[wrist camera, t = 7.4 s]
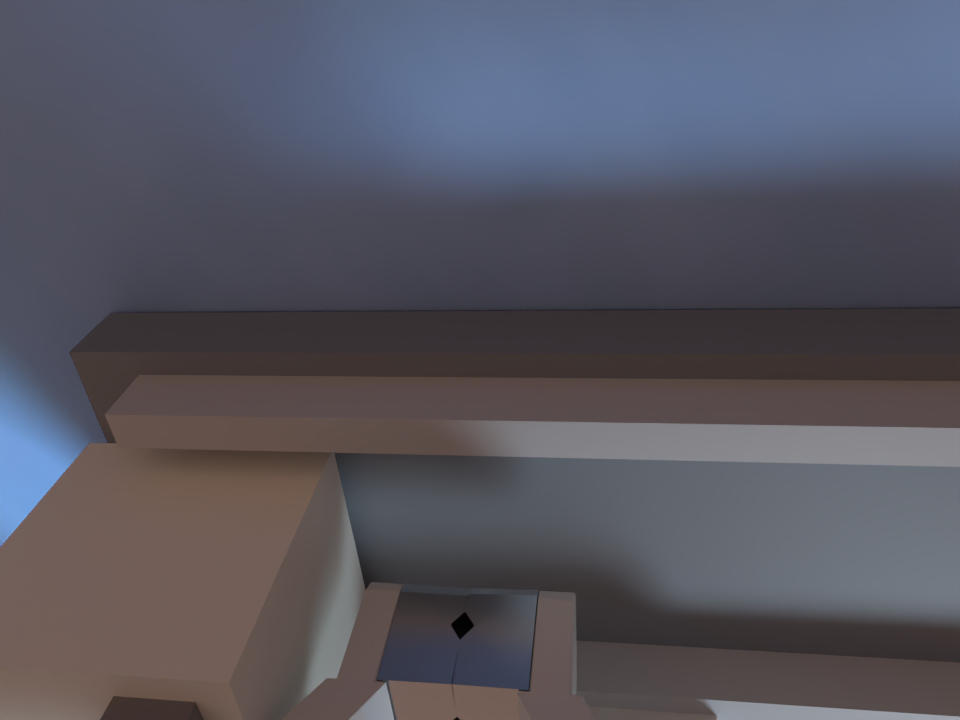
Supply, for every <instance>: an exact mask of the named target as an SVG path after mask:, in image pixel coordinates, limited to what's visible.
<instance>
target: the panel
mask: <svg viewBox="0 0 960 720" xmlns="http://www.w3.org/2000/svg"><path fill="white" fill-rule="evenodd" d="M70 355H71V357H72V359H73V362H74V364H75V367H76V369H77V371H78V374H79V376H80V378H81V381H82V383H83V386H84V388H85V390H86V393H87V395H88V397H89V400H90V402H91V404H92V407H93V409H94V412H95V414H96V416H97V419H98V421H99V423H100V426H101V428H102V431H103V433H104V435H105V438H106V440H107V442H108V443H117V446H118V448H152V449H196V450H239V451H283V452H327V453H334V454H335V458H336V462H337V467H338V471H339V476H340V480H341V484H342V489H343V493H344V497H345V502H346V506H347V510H348V515H349V519H350V524H351V528H352V532H353V537H354V541H355V545H356V550H357V554H358V559H359V563H360V567H361V572H362V576H363V580H364V585H365V589H367V588H368V586H369V585H370V583H371V582H380V583H395V584H413V585H426V586H439V587H452V588H465V589H472V588H491V589H518V590H539V592H540V591H552V592H572V593H575V595H576V643H577V691H576V695H580V696H582V697H583V698H584V700H585V701H586V703H587V705H588V706H589V708H590V709H591V711H592V713H593V714H594V716H595V717H596V719H597V720H960V308H931V309H743V310H554V311H366V312H178V313H110V314H109V315H108V316H107V317H106V318H105V319H104V320H103V321H102V322H101V323H99V324H98V325H97V326H96V327H95V328H94V329H93V330H92V331H91V332H90V333H89V334H88V335H87V336H86V337H85V338H84V339H83V340H82V341H81V342H80V343H79V344H78V345H77V346H76V347H74V348H73V349H72V350H71V351H70Z"/></svg>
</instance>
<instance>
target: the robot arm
mask: <svg viewBox="0 0 960 720" xmlns="http://www.w3.org/2000/svg"><path fill="white" fill-rule="evenodd" d="M576 691H577V643H576V595H575V593H572V592H552V591H540V592H539V590H518V589H491V588H472V589H465V588H452V587H439V586H426V585H413V584H395V583H380V582H371V583H370V585H369V586H368V588H367V589H366V591H365V593H364V596H363V599H362V602H361V605H360V608H359V611H358V614H357V617H356V621H355V624H354V627H353V630H352V633H351V636H350V639H349V642H348V645H347V648H346V652H345V655H344V658H343V661H342V664H341V667H340V670H339V673H338V676H337V678H326V679H325V680H324V681H323V682H322V683H321V684H320V685H319V686H318V687H317V688H315V689H314V690H313V691H312V692H311V693H310V694H309V695H308V696H307V697H305V698H304V699H303V700H302V701H301V702H300V703H299V704H298V705H297V706H296V707H294V708H293V709H292V710H291V711H290V712H289V713H288V714H287V715H286V716H285V717H283V718H282V719H281V720H597V719H596V717H595V716H594V714H593V713H592V711H591V709H590V708H589V706H588V705H587V703H586V701H585V700H584V698H583V697H582V696H580V695H576Z"/></svg>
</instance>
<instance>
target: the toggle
mask: <svg viewBox="0 0 960 720" xmlns="http://www.w3.org/2000/svg"><path fill="white" fill-rule="evenodd" d="M365 591H366V589H365V585H364V580H363V576H362V572H361V567H360V563H359V559H358V554H357V550H356V545H355V541H354V537H353V532H352V528H351V524H350V519H349V515H348V510H347V506H346V502H345V497H344V493H343V489H342V484H341V480H340V476H339V471H338V467H337V462H336V458H335V454H334V453H327V452H283V451H239V450H196V449H152V448H118V446H117V443H89V444H88V445H87V446H86V448H85V449H84V450H83V451H82V452H81V453H80V455H79V456H78V457H77V458H76V459H75V460H74V462H73V463H72V464H71V465H70V466H69V468H68V469H67V470H66V471H65V472H64V473H63V475H62V476H61V477H60V478H59V479H58V480H57V482H56V483H55V484H54V485H53V486H52V487H51V489H50V490H49V491H48V492H47V493H46V495H45V496H44V497H43V498H42V499H41V500H40V502H39V503H38V504H37V505H36V506H35V507H34V509H33V510H32V511H31V512H30V513H29V514H28V516H27V517H26V518H25V519H24V520H23V522H22V523H21V524H20V525H19V526H18V527H17V529H16V530H15V531H14V532H13V533H12V534H11V536H10V537H9V538H8V539H7V540H6V541H5V543H4V544H3V545H2V546H1V547H0V720H281V719H282V718H283V717H285V716H286V715H287V714H288V713H289V712H290V711H291V710H292V709H293V708H294V707H296V706H297V705H298V704H299V703H300V702H301V701H302V700H303V699H304V698H305V697H307V696H308V695H309V694H310V693H311V692H312V691H313V690H314V689H315V688H317V687H318V686H319V685H320V684H321V683H322V682H323V681H324V680H325V679H326V678H337V676H338V673H339V670H340V667H341V664H342V661H343V658H344V655H345V652H346V648H347V645H348V642H349V639H350V636H351V633H352V630H353V627H354V624H355V621H356V617H357V614H358V611H359V608H360V605H361V602H362V599H363V596H364V593H365Z"/></svg>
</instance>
